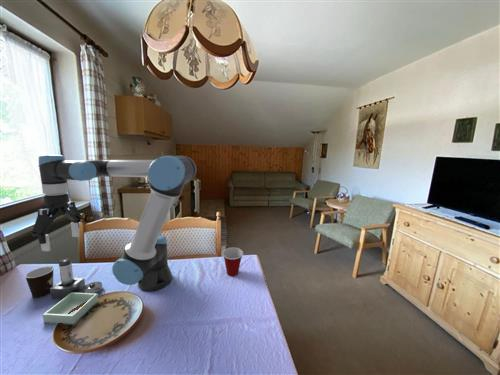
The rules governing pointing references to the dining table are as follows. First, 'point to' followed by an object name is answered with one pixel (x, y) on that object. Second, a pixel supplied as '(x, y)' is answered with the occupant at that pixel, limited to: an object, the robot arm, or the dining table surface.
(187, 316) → the dining table surface
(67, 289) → the block
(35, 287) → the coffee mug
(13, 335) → the dining table surface
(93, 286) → the pulley wheel
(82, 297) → the tray
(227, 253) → the plastic cup
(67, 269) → the clear bottle
